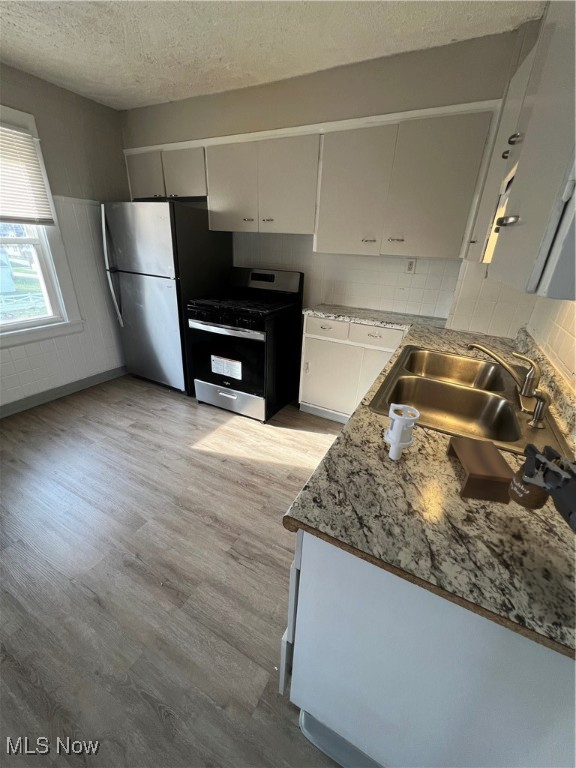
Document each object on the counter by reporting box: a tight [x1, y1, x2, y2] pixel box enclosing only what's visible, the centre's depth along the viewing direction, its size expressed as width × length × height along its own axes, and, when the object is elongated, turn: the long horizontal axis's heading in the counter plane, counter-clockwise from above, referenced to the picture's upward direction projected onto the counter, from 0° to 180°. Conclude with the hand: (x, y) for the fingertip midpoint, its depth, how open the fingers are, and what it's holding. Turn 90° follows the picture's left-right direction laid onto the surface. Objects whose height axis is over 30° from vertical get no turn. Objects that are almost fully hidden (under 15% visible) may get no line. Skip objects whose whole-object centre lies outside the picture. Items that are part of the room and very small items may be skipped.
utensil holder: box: [508, 445, 564, 511], centre depth 58 cm, size 6×6×12 cm
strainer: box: [384, 402, 421, 461], centre depth 80 cm, size 7×7×15 cm
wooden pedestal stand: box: [445, 436, 516, 505], centre depth 75 cm, size 10×14×7 cm
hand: (536, 448), depth 59 cm, fingers closed on utensil holder, 2 cm apart
